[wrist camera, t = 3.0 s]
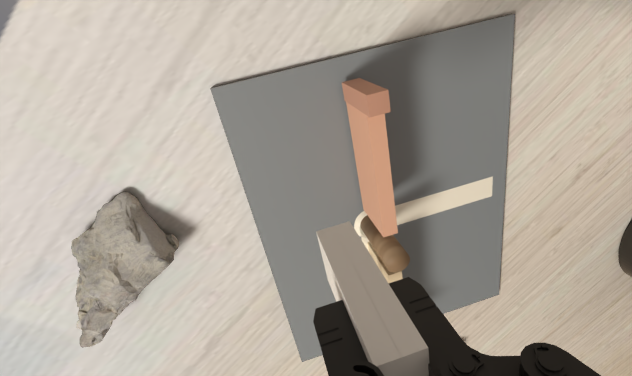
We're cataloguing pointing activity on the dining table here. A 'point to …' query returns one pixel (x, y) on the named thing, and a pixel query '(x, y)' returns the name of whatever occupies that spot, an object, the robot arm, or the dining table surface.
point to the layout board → (405, 160)
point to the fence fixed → (385, 251)
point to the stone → (117, 263)
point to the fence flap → (372, 151)
